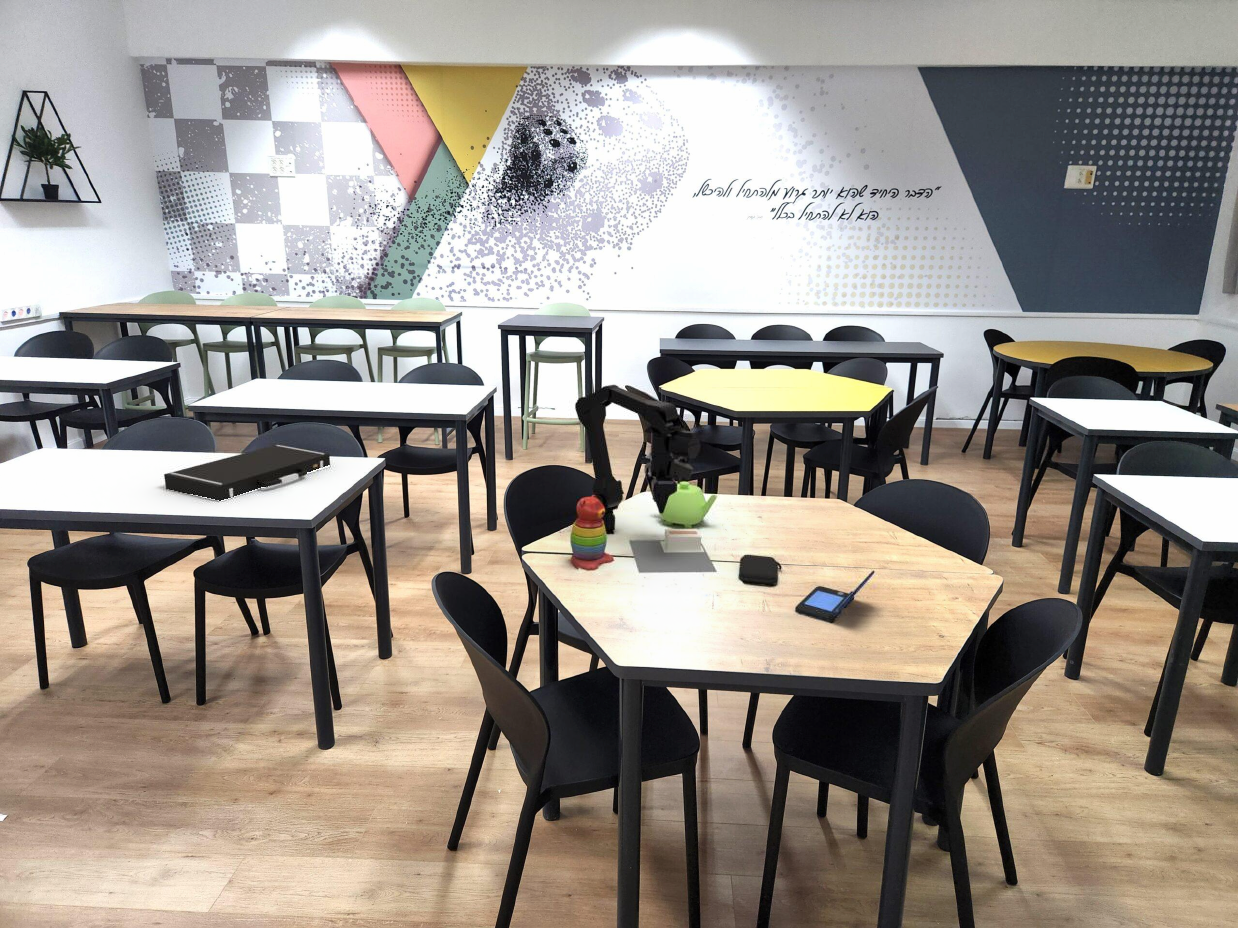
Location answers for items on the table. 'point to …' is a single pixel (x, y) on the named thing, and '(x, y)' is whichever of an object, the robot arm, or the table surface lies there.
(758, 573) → the carrying case or bag
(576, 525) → the stacking bear
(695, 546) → the box
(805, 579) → the table surface
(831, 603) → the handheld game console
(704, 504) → the teapot
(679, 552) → the mat
